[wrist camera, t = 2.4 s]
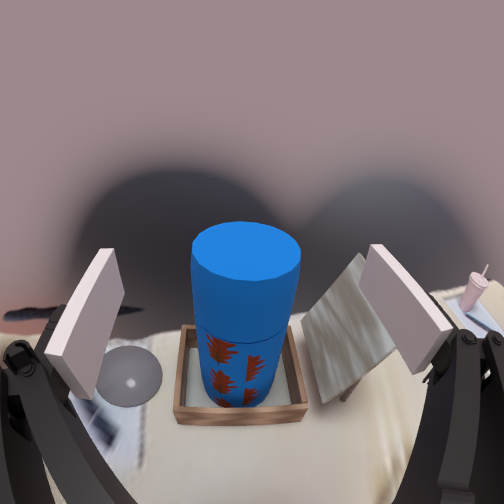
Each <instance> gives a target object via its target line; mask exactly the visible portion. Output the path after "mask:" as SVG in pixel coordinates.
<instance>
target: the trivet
mask: <svg viewBox="0 0 504 504" xmlns="http://www.w3.org/2000/svg"><path fill="white" fill-rule="evenodd" d="M161 382H162V370H161V366H160V364H159V362H158V360H157V358H156V357H155V356H154V355H153V354H152V353H151V352H149V351H148V350H146V349H144V348H141V347H137V346H121V347H117V348H115V349H112V350H110V351H109V352H107V353H106V354H105V355H104V357H103V361H102V364H101V368H100V371H99V375H98V379H97V383H96V389H97V391H98V392H99V394H100V395H101V396H102V397H103V398H104V399H105V400H106V401H108V402H109V403H111V404H113V405H116V406H120V407H135V406H138V405H141V404H143V403H145V402H147V401H149V400H150V399H151V398H152V397H153V396H154V395H155V394H156V393H157V391H158V390H159V388H160V385H161Z"/></svg>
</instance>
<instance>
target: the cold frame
mask: <svg viewBox="0 0 504 504" xmlns="http://www.w3.org/2000/svg"><path fill="white" fill-rule="evenodd" d="M365 262H366V260H365V259H364V257H363V256H362V255H361V254H360V253H358V254H357V256H356V257H355V258H354V259H353V260H352V262H351V263H350V264H349V265H348V267H347V268H346V269H345V270H344V272H343V273H342V274H341V275H340V276H339V277H338V279H337V280H336V281H335V282H334V284H333V285H332V286H331V287H330V288H329V289H328V291H327V292H326V293H325V294H324V295H323V296H322V297H321V298H320V300H319V301H318V302H317V303H316V304H315V305H314V306H313V308H312V309H311V310H310V311H309V312H308V313H307V314H306V315H305V316H304V317H303V319H302V320H301V325H302V328H303V332H304V336H305V339H306V343H307V347H308V350H309V354H310V358H311V362H312V366H313V369H314V373H315V377H316V381H317V385H318V389H319V393H320V396H321V400H322V404H326V403H328V402H329V401H331V400H332V399H333V398H335V397H336V396H338V395H339V394H340V393H342V392H343V391H345V390H346V391H345V392H344V394H343V395H342V396H341V398H340V401H342V402H345V401H346V399H347V398H348V397H349V396H350V394H351V393H352V391H353V390H354V389H355V387H356V386H357V385H358V383H359V382H360V380H361V379H362V377H363V376H364V375H366V374H367V373H368V372H370V371H371V370H372V369H373V368H374V367H376V366H377V365H378V364H379V363H380V362H382V361H383V360H384V359H385V358H386V357H388V356H389V355H390V354H391V353H392V352H393V351H394V350H395V349H397V347H396V345H395V344H394V342H393V340H392V339H391V337H390V335H389V334H388V332H387V330H386V329H385V327H384V325H383V324H382V322H381V321H380V319H379V317H378V316H377V314H376V313H375V311H374V309H373V308H372V306H371V305H370V303H369V302H368V300H367V298H366V297H365V295H364V294H363V292H362V291H361V289H360V288H359V286H358V285H359V282H360V279H361V275H362V272H363V269H364V266H365ZM189 347H198V342H197V333H196V325H182V330H181V338H180V346H179V354H178V363H177V372H176V382H175V392H174V404H173V413H174V415H175V417H176V420H177V422H178V424H184V425H205V426H245V425H266V424H279V423H290V422H299V421H301V419H302V417H303V416H304V414H305V412H306V411H307V409H308V406H307V402H308V399H307V395H306V390H305V386H304V381H303V377H302V372H301V368H300V364H299V359H298V355H297V351H296V347H295V342H294V338H293V334H292V330H291V326H289V325H288V326H287V330H286V334H285V338H284V342H283V346H282V356H283V361H284V366H285V372H286V377H287V382H288V388H289V393H290V399H291V404H292V405H284V406H270V407H250V408H202V407H185V397H186V382H187V369H188V357H189Z"/></svg>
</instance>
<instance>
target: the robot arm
mask: <svg viewBox="0 0 504 504" xmlns="http://www.w3.org/2000/svg"><path fill="white" fill-rule="evenodd" d="M358 286H359V288H360V289H361V291H362V292H363V294H364V295H365V297H366V298H367V300H368V302H369V303H370V305H371V306H372V308H373V309H374V311H375V313H376V314H377V316H378V317H379V319H380V321H381V322H382V324H383V325H384V327H385V329H386V330H387V332H388V334H389V335H390V337H391V339H392V340H393V342H394V344H395V345H396V347H397V349H398V351H399V352H400V354H401V356H402V357H403V359H404V361H405V363H406V365H407V366H408V368H409V370H410V372H411V373H412V375H413V374H416V373H419V372H422V371H424V370H425V369H426V368H427V366H428V365H429V364H430V362H431V363H432V365H433V368H432V369H431V371H430V372H429V373H428V374H427V376H426V377H425V378H424V380H423V382H422V383H425V382H426V380H427V379H428V378H429V382H428V383H427V384H428V388H427V394H426V399H425V404H424V409H423V413H422V417H421V422H420V426H419V429H418V433H417V437H416V440H415V444H414V447H413V450H412V454H411V457H410V460H409V463H408V466H407V469H406V471H405V474H404V477H403V480H402V482H401V485H400V487H399V490H398V492H397V494H396V497H395V499H394V501H393V502H392V504H504V338H503V336H502V335H501V334H500V333H499V332H496V331H489V332H488V334H487V335H486V337H485V338H484V339H483V338H477V337H476V336H475V335H474V334H473V333H472V332H471V331H469V330H466V329H460V330H459V329H458V327H457V326H456V325H455V323H454V322H453V321H452V320H451V318H450V317H449V316H448V315H447V313H446V312H445V311H444V310H443V308H442V307H441V306H440V305H438V302H437V301H436V300H435V299H434V297H433V296H431V295H430V294H429V293H427V292H426V291H423V290H422V288H421V287H420V286H419V285H418V284H417V283H416V281H415V280H414V279H413V278H412V277H411V276H410V275H409V273H408V272H407V271H406V270H405V269H404V268H403V267H402V266H401V264H400V263H399V262H398V261H397V260H396V259H395V258H394V257H393V256H392V255H391V254H390V253H389V252H388V251H387V249H386V248H384V246H383V245H381V244H380V245H370V249H369V252H368V256H367V259H366V262H365V266H364V269H363V272H362V275H361V279H360V282H359V285H358ZM123 296H124V289H123V285H122V281H121V277H120V273H119V270H118V266H117V261H116V257H115V252H114V248H113V249H100V250H99V252H98V253H97V255H96V256H95V258H94V260H93V261H92V263H91V264H90V266H89V268H88V270H87V271H86V273H85V274H84V276H83V278H82V280H81V281H80V283H79V285H78V286H77V288H76V290H75V292H74V294H73V295H72V298H71V299H70V301H69V303H68V305H62V304H61V305H60V306H59V307H58V308H57V309H56V310H55V311H54V312H53V313H52V315H51V317H50V319H49V323H47V325H46V327H45V330H44V331H43V333H42V335H41V337H40V339H39V341H38V343H37V345H36V347H35V349H34V350H33V349H32V347H31V346H30V344H29V343H28V342H27V341H25V340H17V341H14V342H13V343H11V344H10V345H9V346H8V347H7V348H6V350H5V352H4V355H3V361H4V362H5V364H6V365H7V366H8V368H9V369H2V368H1V366H0V504H55V501H54V498H53V495H52V492H51V489H50V486H49V482H48V479H47V475H46V472H45V468H44V464H43V460H44V462H45V464H46V466H47V468H48V470H49V472H50V474H51V476H52V478H53V480H54V482H55V484H56V485H57V487H58V489H59V491H60V493H61V494H62V496H63V498H64V499H65V501H66V503H67V504H137V503H136V501H135V500H134V499H133V498H132V497H131V495H130V494H129V493H128V492H127V490H126V489H125V488H124V486H123V485H122V484H121V483H120V481H119V480H118V479H117V477H116V476H115V474H114V473H113V472H112V470H111V469H110V467H109V466H108V464H107V463H106V462H105V460H104V459H103V457H102V455H101V454H100V452H99V451H98V449H97V448H96V446H95V444H94V443H93V441H92V439H91V438H90V436H89V434H88V433H87V431H86V429H85V427H84V425H83V424H82V422H81V420H80V418H79V416H78V414H77V412H76V410H75V408H74V406H73V404H72V402H71V400H70V399H69V398H68V395H69V391H70V390H71V391H72V393H73V394H74V395H75V397H77V398H83V399H88V400H92V399H93V395H94V391H95V387H96V383H97V379H98V375H99V371H100V368H101V364H102V361H103V357H104V354H105V350H106V347H107V344H108V340H109V337H110V334H111V331H112V328H113V325H114V322H115V319H116V316H117V313H118V310H119V307H120V305H121V302H122V299H123ZM489 369H490V372H491V374H490V375H489V376H488V378H486V379H485V376H484V375H485V373H486V372H487V371H488V370H489ZM42 458H43V460H42ZM468 486H469V487H468Z"/></svg>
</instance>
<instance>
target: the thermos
mask: <svg viewBox="0 0 504 504" xmlns="http://www.w3.org/2000/svg"><path fill="white" fill-rule="evenodd" d="M300 256H301V250H300V248H299V246H298V244H297V242H296V241H295V240H294V239H293V238H292V237H290V236H289V235H288V234H286V233H285V232H283V231H281V230H279V229H277V228H274V227H272V226H268V225H264V224H260V223H253V222H231V223H223V224H220V225H216V226H213V227H210V228H208V229H206V230H205V231H203V232H201V233H200V234H199V235H198V237H197V238H196V239H195V240H194V242H193V245H192V257H191V276H192V288H193V289H192V290H193V301H194V312H195V322H196V333H197V342H198V350H199V359H200V367H201V374H202V379H203V383H204V387H205V390H206V392H207V394H208V396H209V397H210V399H212V400H213V401H214V402H215V403H216V404H217V405H219V406H221V407H224V408H250V407H255V406H256V405H258V404H259V403H261V402H262V401H263V400H264V399H265V397H266V396H267V394H268V393H269V390H270V388H271V386H272V383H273V380H274V376H275V373H276V369H277V365H278V362H279V358H280V354H281V350H282V346H283V342H284V338H285V334H286V330H287V326H288V322H289V318H290V314H291V310H292V305H293V301H294V297H295V292H296V287H297V283H298V279H299V271H300Z"/></svg>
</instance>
